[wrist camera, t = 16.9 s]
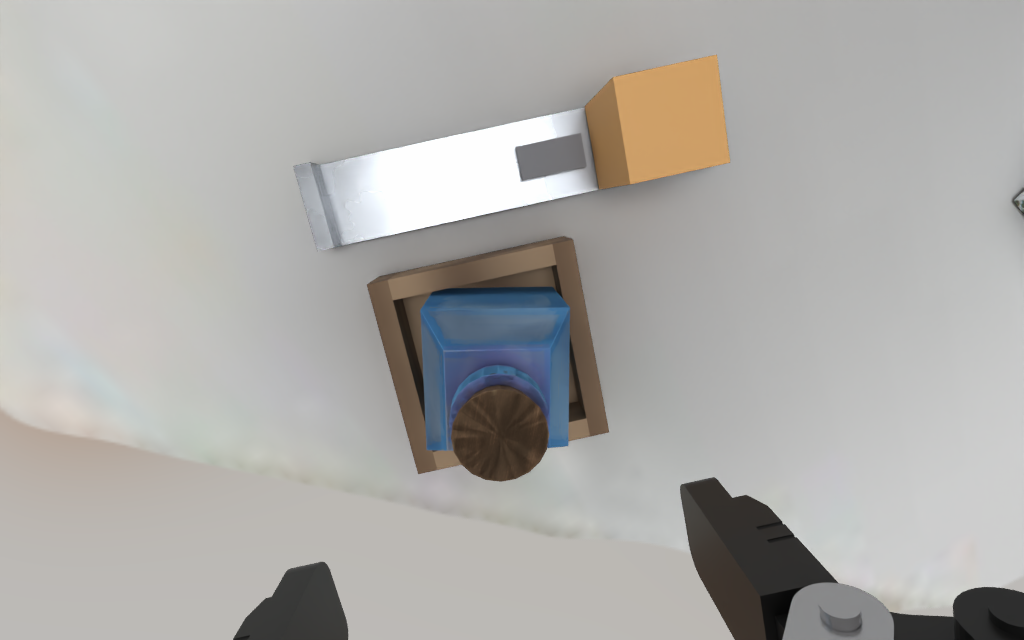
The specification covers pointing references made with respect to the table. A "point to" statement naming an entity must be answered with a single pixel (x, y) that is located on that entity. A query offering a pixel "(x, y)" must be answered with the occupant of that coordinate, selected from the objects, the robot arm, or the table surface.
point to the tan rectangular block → (643, 128)
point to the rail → (437, 181)
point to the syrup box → (1020, 201)
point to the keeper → (510, 267)
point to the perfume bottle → (496, 376)
